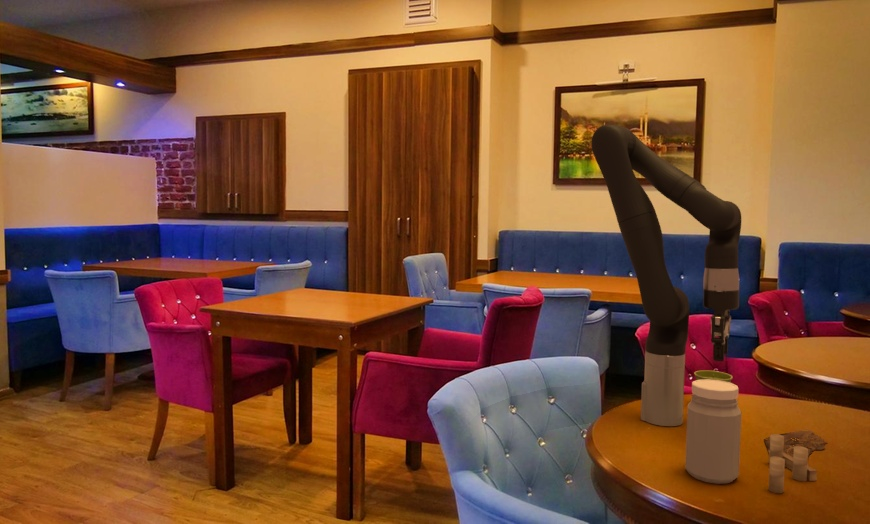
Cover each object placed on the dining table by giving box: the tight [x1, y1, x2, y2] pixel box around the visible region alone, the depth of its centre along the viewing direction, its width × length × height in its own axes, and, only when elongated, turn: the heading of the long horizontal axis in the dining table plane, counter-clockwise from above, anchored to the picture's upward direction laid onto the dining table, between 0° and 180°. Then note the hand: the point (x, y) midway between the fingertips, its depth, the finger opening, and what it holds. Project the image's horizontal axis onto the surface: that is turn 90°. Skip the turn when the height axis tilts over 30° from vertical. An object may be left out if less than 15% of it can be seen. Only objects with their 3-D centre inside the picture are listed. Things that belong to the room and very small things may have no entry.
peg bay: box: [768, 433, 818, 494], centre depth 126 cm, size 12×18×6 cm, turn 7°
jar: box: [685, 379, 742, 485], centre depth 124 cm, size 10×10×18 cm
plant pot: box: [693, 369, 733, 383], centre depth 169 cm, size 9×9×9 cm
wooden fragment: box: [763, 429, 828, 458], centre depth 142 cm, size 26×11×1 cm, turn 132°
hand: (720, 357), depth 148 cm, fingers open, 8 cm apart
